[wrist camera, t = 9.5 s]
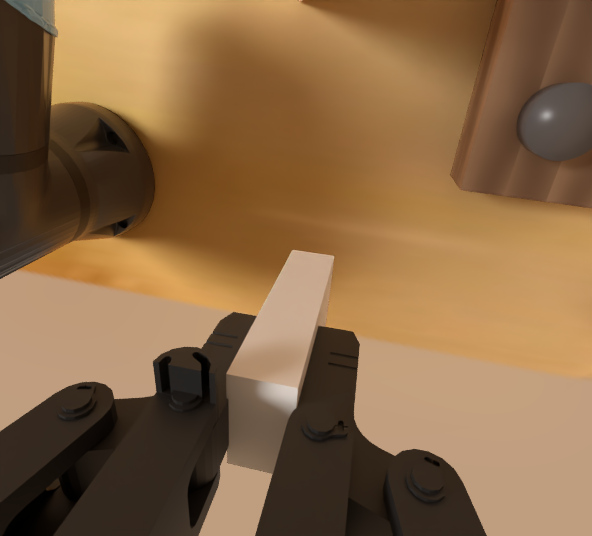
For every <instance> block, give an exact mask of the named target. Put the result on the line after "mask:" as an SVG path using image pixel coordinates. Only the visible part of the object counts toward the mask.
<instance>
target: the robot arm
mask: <svg viewBox="0 0 592 536" xmlns="http://www.w3.org/2000/svg"><path fill="white" fill-rule="evenodd" d="M57 36H58V31H57V29H56V27H55V12H54V0H0V279H1V278H3V277H5V276H7V275H9V274H10V273H12V272H14V271H16V270H18V269H20V268H22V267H24V266H26V265H28V264H30V263H32V262H33V261H35V260H37V259H39V258H41V257H43V256H45V255H47V254H49V253H51V252H53V251H54V250H56V249H58V248H60V247H62V246H64V245H66V244H68V243H70V242H72V241H78V240H91V239H104V238H111V237H115V236H118V235H121V234H123V233H125V232H127V231H128V230H130V229H132V228H134V227H135V226H137V225H138V224H139V223H140V222H141V221H142V220H143V219H144V218H145V217H146V215H147V214H148V212H149V210H150V208H151V205H152V201H153V197H154V175H153V170H152V166H151V162H150V159H149V157H148V154H147V152H146V150H145V148H144V146H143V144H142V143H141V141H140V140H139V138H138V137H137V135H136V134H135V133H134V131H133V130H132V129H131V128H130V127H129V126H128V125H127V124H126V123H125V122H124V121H123V120H122V119H121V118H119V117H118V116H117V115H115V114H114V113H112V112H111V111H109V110H107V109H105V108H103V107H101V106H98V105H95V104H91V103H86V102H70V103H59V104H55V105H52V106H51V94H52V77H53V61H54V45H55V37H57ZM333 264H334V256H332V255H325V254H319V253H312V252H305V251H298V250H292V251H291V253H290V255H289V257H288V259H287V261H286V263H285V265H284V266H283V268H282V270H281V272H280V274H279V276H278V278H277V280H276V281H275V283H274V285H273V287H272V289H271V291H270V293H269V295H268V296H267V298H266V300H265V302H264V304H263V306H262V308H261V310H260V311H259V313H258V315H257V316H253V315H247V314H241V313H236V312H233V313H231V314H230V315H228V316H227V317H225V318H224V319H222V320H221V321H220V322H219V323H218V325H217V326H216V328H215V329H214V331H213V334H211V335H210V337H209V338H208V340H207V342H206V343H205V344H204V346H203V347H202V349H200V348H197V347H182V348H176V349H172V350H170V351H168V352H165V353H163V354H161V355H160V356H159V357H158V358H157V359H155V360H154V361H153V366H154V374H155V383H156V391H157V392H156V394H155V395H154V396H151V397H144V398H129V399H114V396H113V392H112V390H111V389H110V388H109V387H107V386H106V385H105V384H101V383H97V382H82V383H78V384H75V385H72V386H68V387H66V388H64V389H62V390H61V391H59V392H57V393H55V394H54V395H52V396H51V397H49V398H48V399H46V400H45V401H44V402H42V403H41V404H39V405H38V406H36V407H35V408H34V409H32V410H31V411H29V412H28V413H26V414H25V415H23V416H22V417H20V418H19V419H18V420H16V421H15V422H13V423H12V424H10V425H9V426H8V427H6V428H5V429H3V430H2V431H1V432H0V536H198V535H199V533H200V530H201V528H202V525H203V522H204V520H205V518H206V515H207V513H208V510H209V508H210V505H211V503H212V500H213V498H214V495H215V493H216V490H217V488H218V484H219V479H220V465H221V462H222V460H223V458H224V455H225V453H226V451H227V463H230V464H233V465H238V466H242V467H247V468H250V469H255V470H259V471H263V472H267V473H272V474H273V475H272V478H271V482H270V486H269V489H268V492H267V496H266V499H265V503H264V507H263V510H262V514H261V517H260V521H259V524H258V528H257V531H256V535H255V536H487V535H486V533H485V531H484V529H483V526H482V525H481V522H480V520H479V518H478V515H477V513H476V511H475V509H474V506H473V504H472V502H471V500H470V497H469V495H468V493H467V491H466V488H465V486H464V484H463V482H462V481H461V479H460V477H459V476H458V474H457V473H456V471H455V470H454V468H452V467H451V466H450V465H449V464H448V463H447V462H446V461H444V460H443V459H442V458H440V457H438V456H436V455H434V454H432V453H430V452H427V451H423V450H417V449H412V450H406V451H402V452H400V453H399V454H397V455H396V456H394V455H392V454H390V453H388V452H386V451H384V450H382V449H380V448H378V447H377V446H375V445H374V444H372V443H371V442H369V441H368V440H367V439H366V438H365V437H364V436H363V435H362V434H361V432H360V431H359V429H358V428H357V425H356V423H355V420H354V402H355V391H356V380H357V368H358V356H359V346H360V344H359V342H358V340H357V338H356V336H355V334H354V332H351V331H346V330H340V329H334V328H328V327H325V324H326V319H327V311H328V303H329V296H330V288H331V280H332V272H333Z"/></svg>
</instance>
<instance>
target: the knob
mask: <svg viewBox="0 0 592 536" xmlns="http://www.w3.org/2000/svg"><path fill="white" fill-rule="evenodd" d="M516 128H517V135H518V138H519V140H520V142H521V144H522V145H523V146H524V147H525V148H526V149H527V150H529V151H530V152H532V153H534V154H536V155H538V156H540V157H542V158H545V159H548V160H552V161H565V160H570V159H573V158H576V157H579V156H581V155H583V154H585V153H586V152H588V151H589V150H591V149H592V85H591V84H588V83H556V84H552V85H549V86H547V87H545V88H542V89H541V90H539V91H538V92H536V93H535V94H534V95H532V96H531V97H530V98H529V99H528V101H527V102H526V103H525V104H524V106H523V107H522V109H521V111H520V113H519V116H518V119H517V126H516Z"/></svg>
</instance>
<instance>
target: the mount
mask: <svg viewBox="0 0 592 536" xmlns="http://www.w3.org/2000/svg"><path fill="white" fill-rule="evenodd" d="M556 83H588V84H591V85H592V0H497V3H496V7H495V10H494V14H493V18H492V22H491V25H490V29H489V33H488V37H487V40H486V44H485V48H484V51H483V55H482V59H481V63H480V66H479V70H478V74H477V78H476V81H475V85H474V89H473V93H472V96H471V100H470V104H469V108H468V111H467V115H466V119H465V123H464V126H463V130H462V134H461V138H460V141H459V145H458V149H457V153H456V156H455V160H454V164H453V168H452V171H451V176H452V178H453V179H454V181H455V183H456V184H457V186H458V187H459V189H460V190H464V191H471V192H478V193H486V194H493V195H500V196H507V197H515V198H522V199H529V200H536V201H544V202H551V203H558V204H565V205H572V206H580V207H587V208H592V149H591V150H589V151H588V152H586V153H585V154H583V155H581V156H579V157H576V158H573V159H570V160H565V161H552V160H548V159H545V158H542V157H540V156H538V155H536V154H534V153H532V152H530V151H529V150H527V149H526V148H525V147H524V146H523V145H522V144H521V142H520V140H519V138H518V135H517V128H516V126H517V119H518V116H519V113H520V111H521V109H522V107H523V106H524V104H525V103H526V102H527V101H528V99H529V98H530V97H531V96H532V95H534V94H535V93H536V92H538V91H539V90H541V89H542V88H545V87H547V86H549V85H552V84H556Z"/></svg>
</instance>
